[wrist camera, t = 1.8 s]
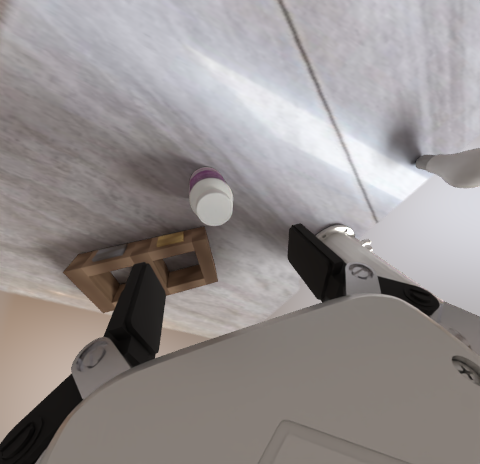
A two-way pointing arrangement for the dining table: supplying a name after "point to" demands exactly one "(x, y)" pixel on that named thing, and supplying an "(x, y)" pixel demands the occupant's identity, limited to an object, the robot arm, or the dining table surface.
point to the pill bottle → (210, 196)
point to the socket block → (150, 251)
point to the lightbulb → (454, 167)
